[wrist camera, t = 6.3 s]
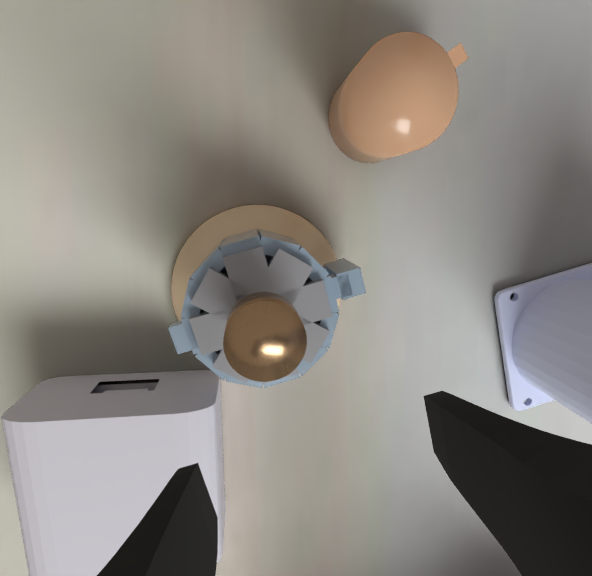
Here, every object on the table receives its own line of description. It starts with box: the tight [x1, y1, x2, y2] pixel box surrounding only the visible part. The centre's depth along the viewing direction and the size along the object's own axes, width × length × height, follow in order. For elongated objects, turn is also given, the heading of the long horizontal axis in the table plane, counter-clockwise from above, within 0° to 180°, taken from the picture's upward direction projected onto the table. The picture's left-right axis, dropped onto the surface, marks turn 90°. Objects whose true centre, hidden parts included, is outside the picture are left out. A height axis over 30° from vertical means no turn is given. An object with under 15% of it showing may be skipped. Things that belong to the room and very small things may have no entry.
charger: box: [2, 370, 225, 576], centre depth 21 cm, size 5×9×15 cm
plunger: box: [223, 254, 307, 382], centre depth 16 cm, size 4×4×7 cm
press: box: [168, 205, 366, 388], centre depth 18 cm, size 9×9×5 cm
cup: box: [328, 32, 468, 163], centre depth 18 cm, size 6×4×5 cm
